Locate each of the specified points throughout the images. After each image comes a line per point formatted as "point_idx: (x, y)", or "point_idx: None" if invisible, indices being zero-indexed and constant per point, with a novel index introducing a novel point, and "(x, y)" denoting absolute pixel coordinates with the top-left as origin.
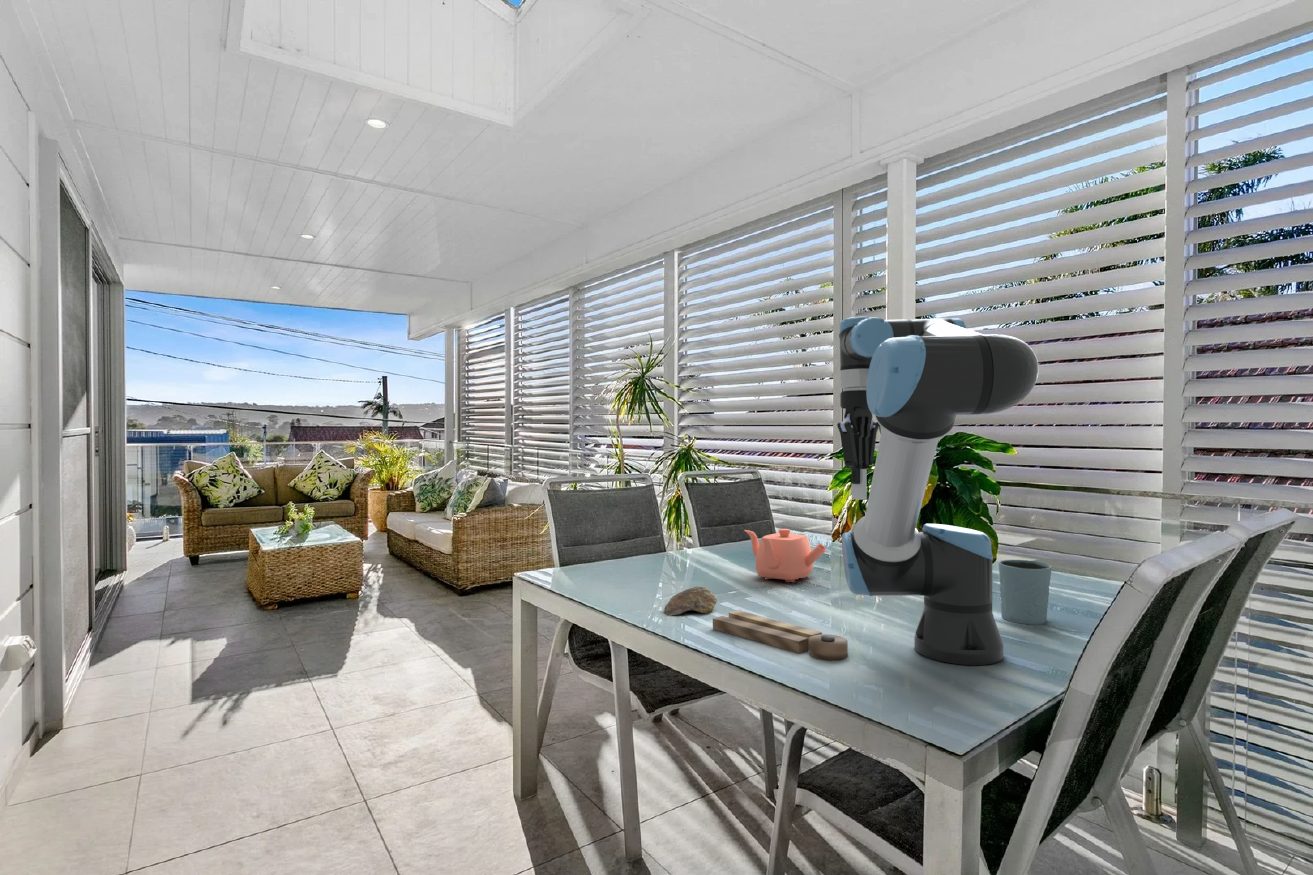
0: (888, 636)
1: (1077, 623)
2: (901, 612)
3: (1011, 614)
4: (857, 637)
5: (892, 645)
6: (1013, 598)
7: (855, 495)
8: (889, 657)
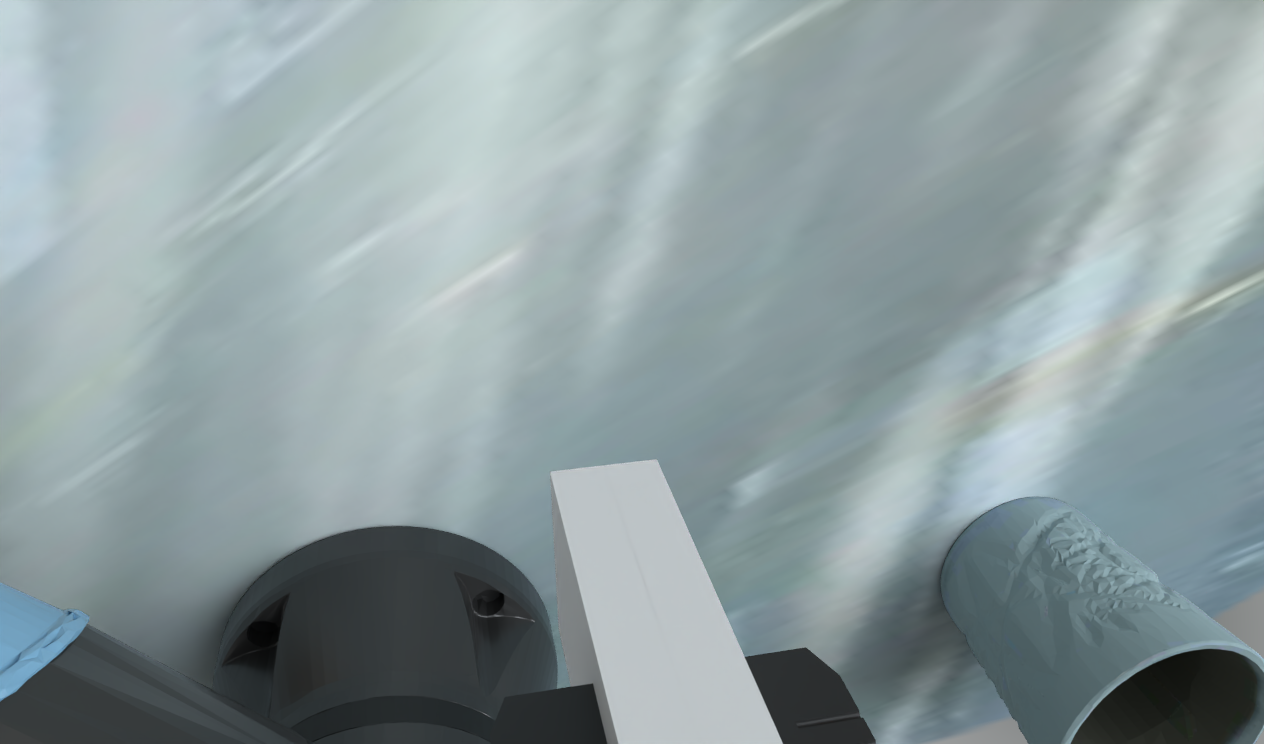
0: (347, 395)
1: None
2: (788, 190)
3: (956, 580)
4: (199, 317)
5: (242, 481)
6: (988, 635)
7: (559, 558)
8: (87, 565)
